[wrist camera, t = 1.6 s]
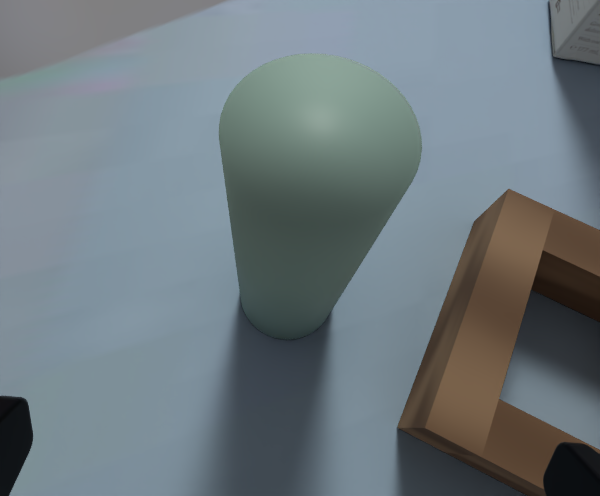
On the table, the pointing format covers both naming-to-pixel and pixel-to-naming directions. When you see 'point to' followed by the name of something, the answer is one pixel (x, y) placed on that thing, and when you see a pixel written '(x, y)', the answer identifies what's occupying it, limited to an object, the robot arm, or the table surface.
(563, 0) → the skincare box
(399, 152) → the sage peg
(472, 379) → the square wooden frame
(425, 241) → the table surface
